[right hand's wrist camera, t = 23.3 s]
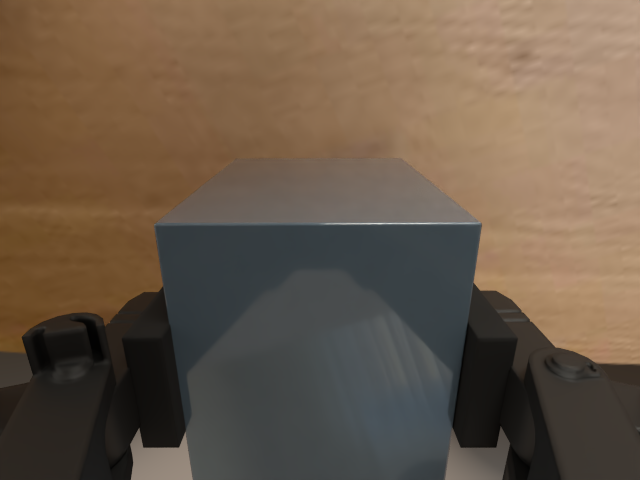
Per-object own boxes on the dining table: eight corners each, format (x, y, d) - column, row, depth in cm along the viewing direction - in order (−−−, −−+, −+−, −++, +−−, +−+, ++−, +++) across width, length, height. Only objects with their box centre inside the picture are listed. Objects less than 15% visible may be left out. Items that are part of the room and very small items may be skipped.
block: (390, 328, 17) (442, 502, 10) (247, 328, 17) (195, 502, 10) (402, 157, 14) (482, 222, 7) (235, 158, 14) (152, 223, 7)
